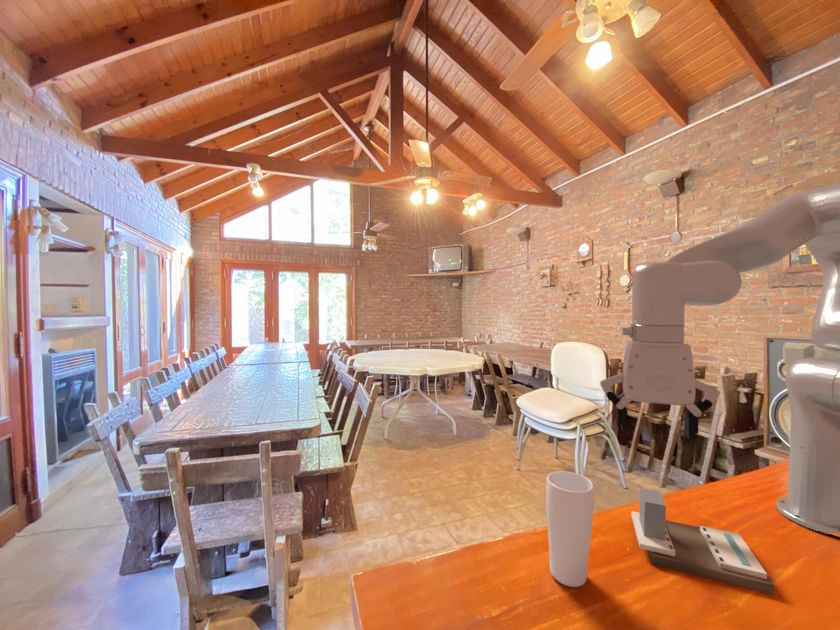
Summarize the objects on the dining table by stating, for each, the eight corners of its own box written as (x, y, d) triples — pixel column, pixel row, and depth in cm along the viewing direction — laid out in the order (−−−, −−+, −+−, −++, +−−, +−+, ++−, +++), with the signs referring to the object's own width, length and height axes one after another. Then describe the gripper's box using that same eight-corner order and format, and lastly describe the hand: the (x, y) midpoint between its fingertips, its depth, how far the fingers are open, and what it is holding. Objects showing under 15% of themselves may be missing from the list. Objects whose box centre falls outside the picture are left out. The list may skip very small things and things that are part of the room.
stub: (631, 515, 69) (632, 480, 68) (661, 521, 67) (662, 485, 66) (639, 548, 59) (640, 508, 59) (675, 556, 57) (676, 515, 57)
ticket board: (640, 522, 69) (640, 510, 69) (739, 543, 63) (740, 530, 63) (652, 564, 58) (652, 550, 58) (774, 595, 52) (775, 579, 52)
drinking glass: (570, 556, 60) (572, 467, 59) (602, 587, 53) (604, 488, 53) (535, 565, 58) (537, 474, 57) (564, 598, 51) (566, 496, 51)
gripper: (602, 335, 62) (601, 433, 62) (729, 339, 55) (726, 449, 55) (599, 332, 68) (598, 420, 69) (712, 334, 62) (709, 432, 62)
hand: (655, 433), depth 62 cm, fingers open, 9 cm apart
